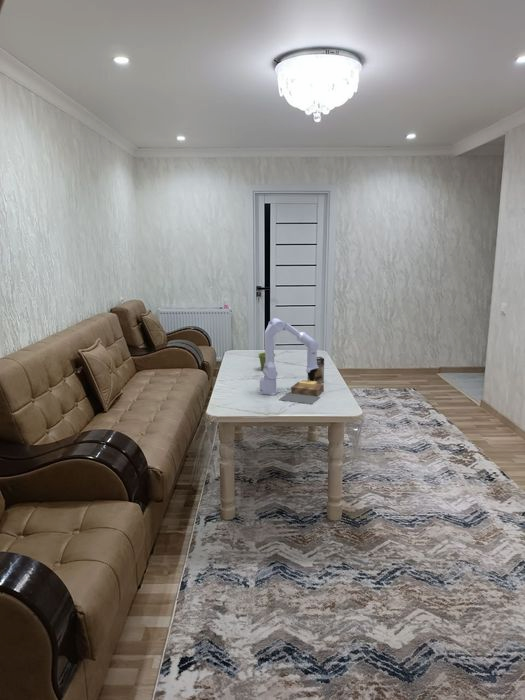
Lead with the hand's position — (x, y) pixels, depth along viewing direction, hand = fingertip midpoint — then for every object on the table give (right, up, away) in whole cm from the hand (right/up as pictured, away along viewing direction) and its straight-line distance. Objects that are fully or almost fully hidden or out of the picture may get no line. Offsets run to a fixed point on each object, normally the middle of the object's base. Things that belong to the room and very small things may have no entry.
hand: (311, 381), depth 307 cm
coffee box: (+4, -2, +13) cm, 14 cm away
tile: (-3, -2, -6) cm, 7 cm away
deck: (-3, -6, -6) cm, 9 cm away
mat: (-9, -9, -18) cm, 22 cm away
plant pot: (-27, +5, +45) cm, 53 cm away
